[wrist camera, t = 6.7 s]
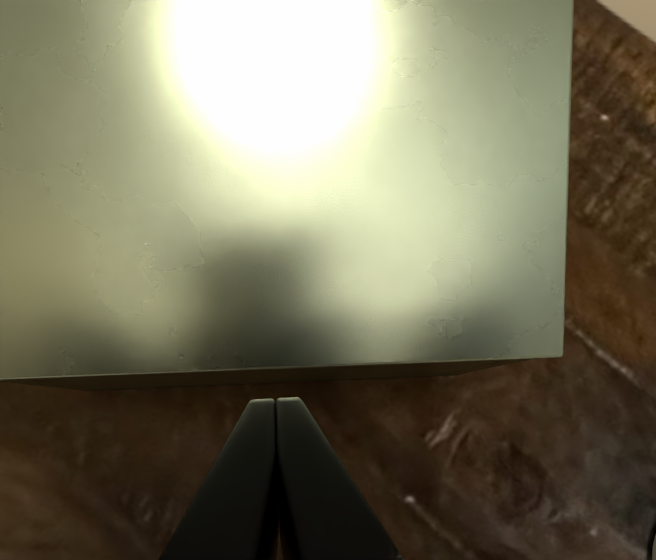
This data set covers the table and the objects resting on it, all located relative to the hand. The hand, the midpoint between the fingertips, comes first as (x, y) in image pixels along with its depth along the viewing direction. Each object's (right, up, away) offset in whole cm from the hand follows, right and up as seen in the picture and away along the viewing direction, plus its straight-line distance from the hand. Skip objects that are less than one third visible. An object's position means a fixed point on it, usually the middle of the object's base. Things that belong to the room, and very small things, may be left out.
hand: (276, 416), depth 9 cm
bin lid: (0, +7, +3) cm, 8 cm away
